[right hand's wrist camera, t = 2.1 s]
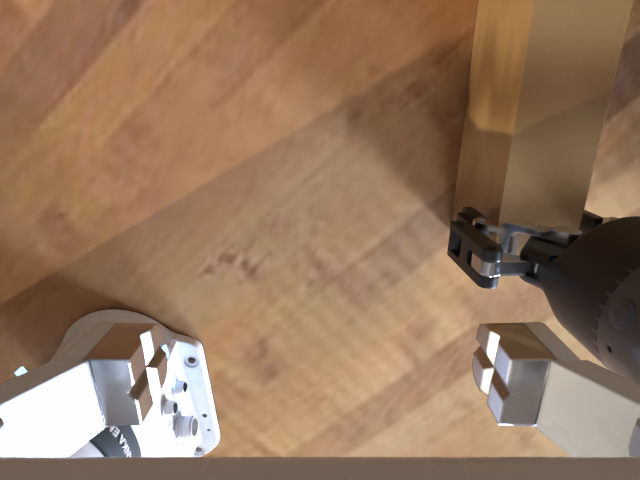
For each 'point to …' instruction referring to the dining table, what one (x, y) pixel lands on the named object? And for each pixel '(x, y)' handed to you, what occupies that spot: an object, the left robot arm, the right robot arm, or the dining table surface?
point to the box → (537, 107)
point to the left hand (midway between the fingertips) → (515, 218)
